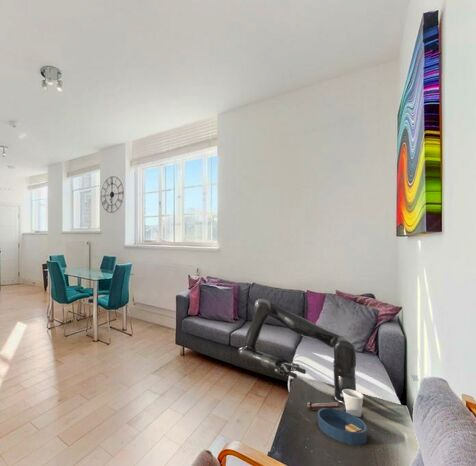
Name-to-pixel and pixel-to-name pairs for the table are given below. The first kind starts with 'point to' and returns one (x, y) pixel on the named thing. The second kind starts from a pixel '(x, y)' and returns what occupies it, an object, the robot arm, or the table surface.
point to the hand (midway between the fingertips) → (301, 374)
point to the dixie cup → (353, 401)
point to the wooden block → (352, 428)
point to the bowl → (341, 426)
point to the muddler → (323, 405)
